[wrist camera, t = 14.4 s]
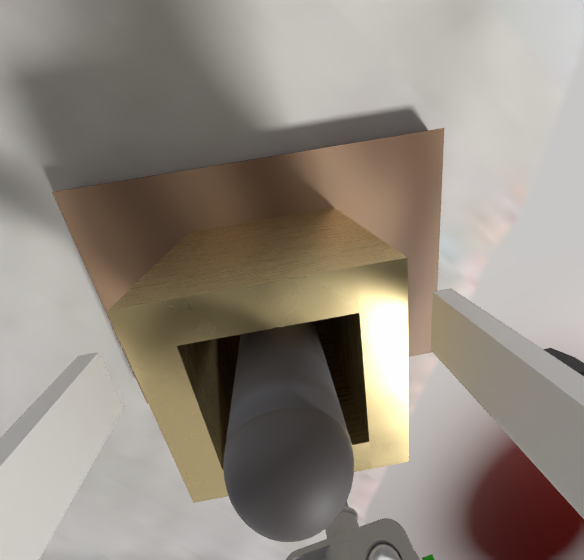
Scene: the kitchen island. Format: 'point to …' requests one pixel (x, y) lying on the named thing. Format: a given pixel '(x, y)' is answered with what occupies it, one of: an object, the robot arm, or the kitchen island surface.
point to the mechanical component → (360, 541)
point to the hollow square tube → (267, 315)
